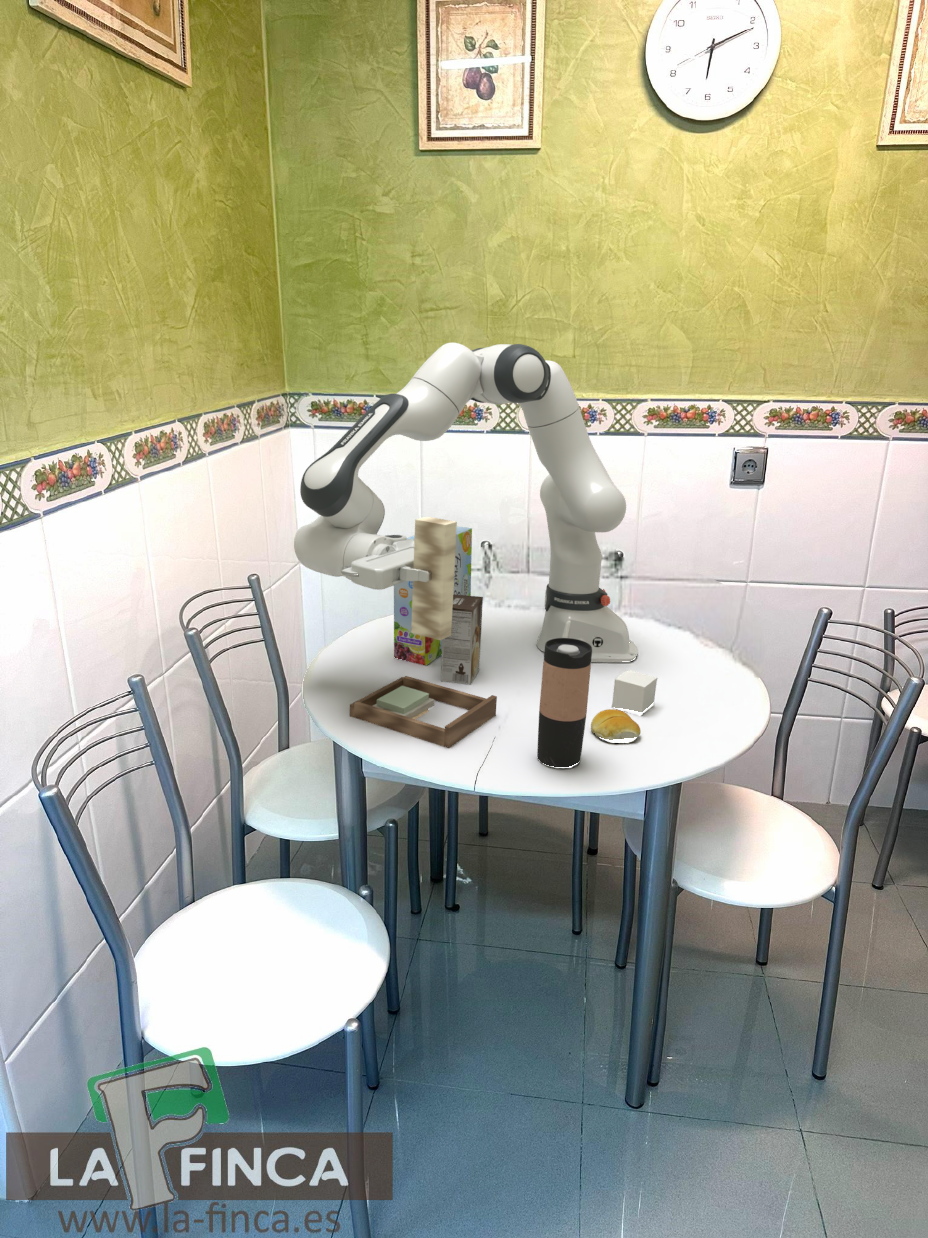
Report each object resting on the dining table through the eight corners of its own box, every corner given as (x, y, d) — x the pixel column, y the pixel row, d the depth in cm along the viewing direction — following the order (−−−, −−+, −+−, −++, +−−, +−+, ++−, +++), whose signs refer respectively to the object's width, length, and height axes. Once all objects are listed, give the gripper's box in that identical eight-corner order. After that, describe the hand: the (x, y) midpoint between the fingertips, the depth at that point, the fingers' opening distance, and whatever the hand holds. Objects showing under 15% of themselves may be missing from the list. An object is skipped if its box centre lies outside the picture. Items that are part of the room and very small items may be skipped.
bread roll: (624, 721, 155) (627, 701, 154) (645, 744, 147) (648, 723, 146) (582, 724, 153) (584, 704, 152) (601, 747, 145) (603, 725, 144)
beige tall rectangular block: (411, 632, 147) (415, 519, 141) (422, 627, 150) (426, 516, 144) (440, 640, 144) (445, 524, 138) (451, 634, 147) (456, 521, 141)
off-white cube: (624, 698, 165) (627, 669, 163) (653, 706, 162) (657, 677, 160) (611, 708, 160) (614, 678, 158) (641, 716, 157) (644, 687, 155)
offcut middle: (371, 712, 153) (371, 706, 153) (403, 695, 161) (403, 689, 160) (403, 723, 149) (403, 717, 149) (434, 705, 157) (434, 699, 157)
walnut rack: (349, 717, 151) (349, 696, 150) (401, 688, 164) (401, 669, 163) (449, 749, 141) (449, 727, 140) (495, 716, 154) (496, 696, 153)
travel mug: (547, 744, 145) (556, 634, 138) (589, 756, 141) (600, 644, 135) (527, 761, 138) (536, 647, 132) (570, 775, 135) (581, 658, 128)
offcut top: (376, 705, 153) (376, 699, 153) (402, 691, 160) (402, 685, 159) (403, 714, 150) (403, 708, 150) (428, 699, 157) (428, 693, 156)
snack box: (437, 630, 198) (441, 522, 190) (471, 637, 194) (476, 527, 186) (389, 659, 179) (391, 540, 171) (425, 667, 176) (429, 546, 167)
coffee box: (449, 666, 177) (452, 593, 172) (479, 670, 176) (483, 596, 170) (439, 683, 168) (442, 606, 163) (471, 686, 167) (475, 609, 162)
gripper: (334, 553, 140) (403, 567, 134) (404, 532, 157) (468, 545, 150) (334, 589, 142) (402, 605, 136) (403, 565, 159) (467, 579, 152)
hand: (437, 573), depth 143 cm, fingers closed on beige tall rectangular block, 3 cm apart
